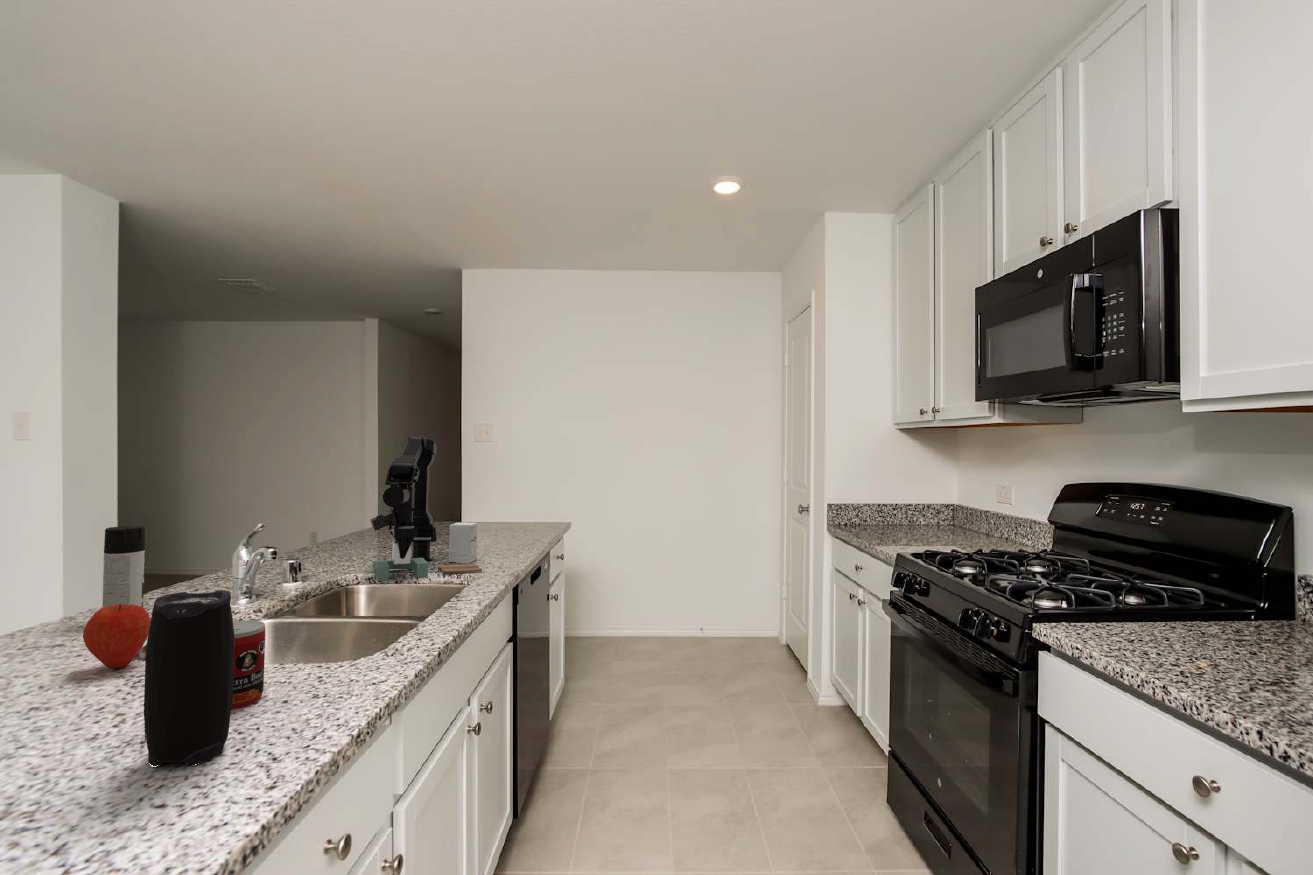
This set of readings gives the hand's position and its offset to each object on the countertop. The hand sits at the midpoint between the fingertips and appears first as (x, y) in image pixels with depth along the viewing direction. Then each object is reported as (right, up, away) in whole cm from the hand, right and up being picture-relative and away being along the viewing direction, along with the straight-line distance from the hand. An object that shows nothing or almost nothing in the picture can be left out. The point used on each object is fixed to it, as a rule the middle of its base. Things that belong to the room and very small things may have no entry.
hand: (401, 557), depth 184 cm
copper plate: (+14, -6, +9) cm, 18 cm away
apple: (-16, -4, -78) cm, 80 cm away
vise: (-2, -5, +2) cm, 6 cm away
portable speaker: (+17, -4, -107) cm, 108 cm away
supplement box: (+11, -6, +24) cm, 27 cm away
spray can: (-38, -4, -52) cm, 64 cm away
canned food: (+12, -4, -90) cm, 91 cm away
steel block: (0, -2, 0) cm, 2 cm away
